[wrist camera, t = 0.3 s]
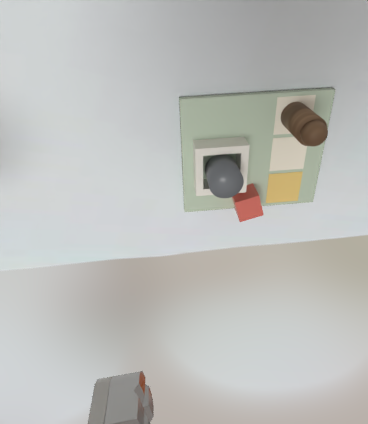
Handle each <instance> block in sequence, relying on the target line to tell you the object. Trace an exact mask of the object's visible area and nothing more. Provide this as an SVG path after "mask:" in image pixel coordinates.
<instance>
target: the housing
mask: <svg viewBox="0 0 368 424" xmlns="http://www.w3.org/2000/svg"><path fill="white" fill-rule="evenodd" d="M249 146H250V145H249V144H248V142H247V140H246V139H245V137H231V138H217V139H202V140H193V171H194V188H195V193H196V196H206V195H213V194H212V192H211V191H210V188H209V185H208V182H207V179H203V156H208V155H222V154H236V163H237V165H238V168H239V170H240V172H241V174H242V176H243V179H244V183H243V187H242V189H241V190H240V192H239V193H245V192H246V188H247V174H248V160H249Z"/></svg>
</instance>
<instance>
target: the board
mask: <svg viewBox="0 0 368 424" xmlns="http://www.w3.org/2000/svg"><path fill="white" fill-rule="evenodd" d="M334 94H335V89H334V88H317V89H301V90H286V91H270V92H254V93H238V94H222V95H206V96H190V97H179V105H180V127H181V149H182V171H183V193H184V210H185V212H192V211H205V210H218V209H230V208H235V207H234V203H233V200H232V197H230V198H219V197H216V196H215V195H206V196H196V193H195V188H194V171H193V140H202V139H217V138H231V137H245V139H246V140H247V142H248V144H249V145H250V146H249V160H248V174H247V185H249V184H252V183H253V184H254V186H255V188H256V190H257V192H258V194H259V197H260V201H261V206H268V205H281V204H293V203H306V202H313V199H314V194H315V189H316V184H317V179H318V174H319V169H320V164H321V159H322V154H323V149H324V144H325V141H324V142H323V143H322V144H320V145H318V146H304V145H302V144H301V143H300V142H299V141H298V140H297V139H296V138H295V137H294V136H293V135H292V134H291V133H290V132H289V131H288V130H287V129H286V128H285V127H284V125H283V124H282V122H281V113H282V111H283V109H284V108H285V107H286V106H287V105H288V104H290V103H292V102H301V103H303V104H305V105H306V106H307V107H308V108H310V109H311V110H312V111H313V112H315V113H316V114H317V115H319V116H320V117H321V118H322V119H324V120H325V122H326V124H327V129H328V124H329V119H330V114H331V109H332V104H333V99H334ZM226 155H229V156H231V157H232V158H233V159H234V160H235V161H236V154H226ZM213 156H215V155H208V156H203V179H207V178H206V175H205V166H206V163H207V162H208V160H209V159H210V158H212V157H213Z"/></svg>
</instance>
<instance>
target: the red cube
mask: <svg viewBox="0 0 368 424" xmlns="http://www.w3.org/2000/svg"><path fill="white" fill-rule="evenodd" d="M232 200H233V203H234V207H235V210H236V213H237V215H238V218H239V221H240V222H242V221H245V220H248V219H252V218H255V217H259V216H262V215H263V211H262V206H261V201H260V197H259V194H258V192H257V190H256V188H255V186H254V184H253V183H252V184H249V185H247V188H246V192H245V193H238V194H236V195H235V196H233V197H232Z"/></svg>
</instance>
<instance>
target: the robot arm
mask: <svg viewBox="0 0 368 424" xmlns="http://www.w3.org/2000/svg"><path fill="white" fill-rule="evenodd" d="M152 418H153V399H152V394H151V391H150V388H149V386H147V385H146V384H145V376H144V374H143V372H142V371H141V372H135V373H130V374H124V375H118V376H113V377H107V378H102V379H98V380H97V381H96V383H95V386H94V392H93V397H92V403H91V408H90V414H89V420H88V424H150V421H151V420H152Z"/></svg>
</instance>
